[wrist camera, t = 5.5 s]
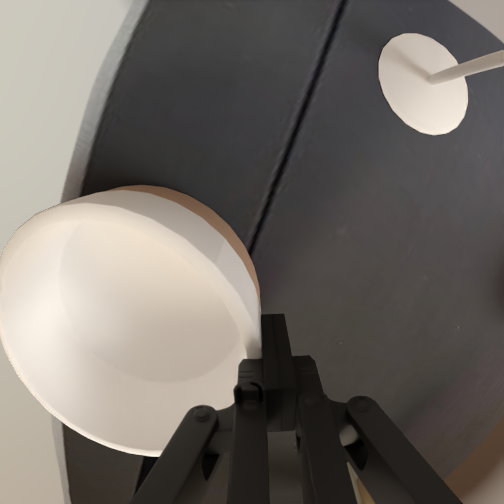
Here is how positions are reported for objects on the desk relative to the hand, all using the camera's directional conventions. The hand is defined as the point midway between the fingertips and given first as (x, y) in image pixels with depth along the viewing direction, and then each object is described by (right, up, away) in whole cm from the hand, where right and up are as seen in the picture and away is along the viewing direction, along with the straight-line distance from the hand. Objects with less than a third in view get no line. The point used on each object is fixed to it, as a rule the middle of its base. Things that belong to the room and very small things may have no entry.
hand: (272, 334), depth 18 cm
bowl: (-9, +1, +5) cm, 11 cm away
